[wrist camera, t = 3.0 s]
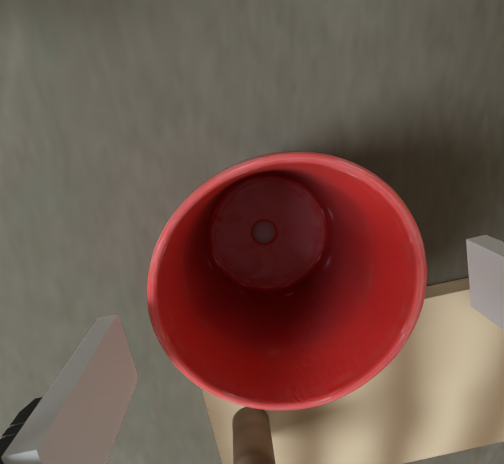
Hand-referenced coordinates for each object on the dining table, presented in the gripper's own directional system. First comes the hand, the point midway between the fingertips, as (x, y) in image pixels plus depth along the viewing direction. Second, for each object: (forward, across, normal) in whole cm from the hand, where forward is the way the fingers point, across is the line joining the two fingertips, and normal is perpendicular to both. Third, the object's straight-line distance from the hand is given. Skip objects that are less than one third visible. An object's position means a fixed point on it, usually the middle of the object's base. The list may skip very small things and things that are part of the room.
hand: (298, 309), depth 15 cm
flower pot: (+10, 0, +1) cm, 11 cm away
